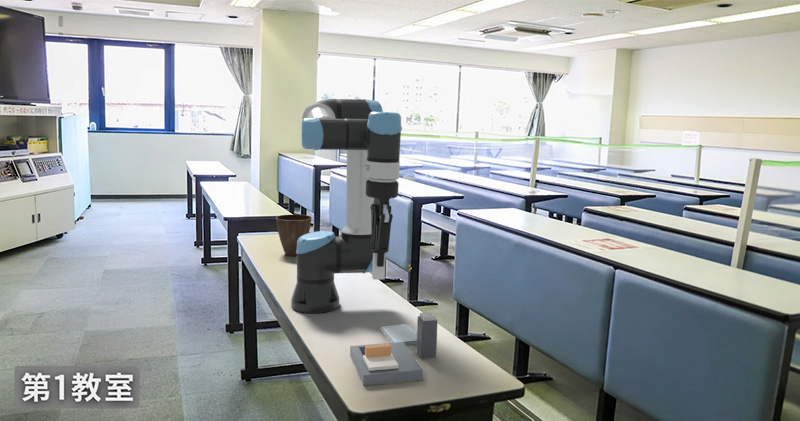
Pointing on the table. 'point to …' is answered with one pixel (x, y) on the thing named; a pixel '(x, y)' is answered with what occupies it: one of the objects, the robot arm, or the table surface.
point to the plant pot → (292, 231)
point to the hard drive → (400, 334)
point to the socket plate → (403, 373)
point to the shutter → (379, 357)
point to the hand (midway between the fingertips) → (378, 278)
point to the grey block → (426, 336)
